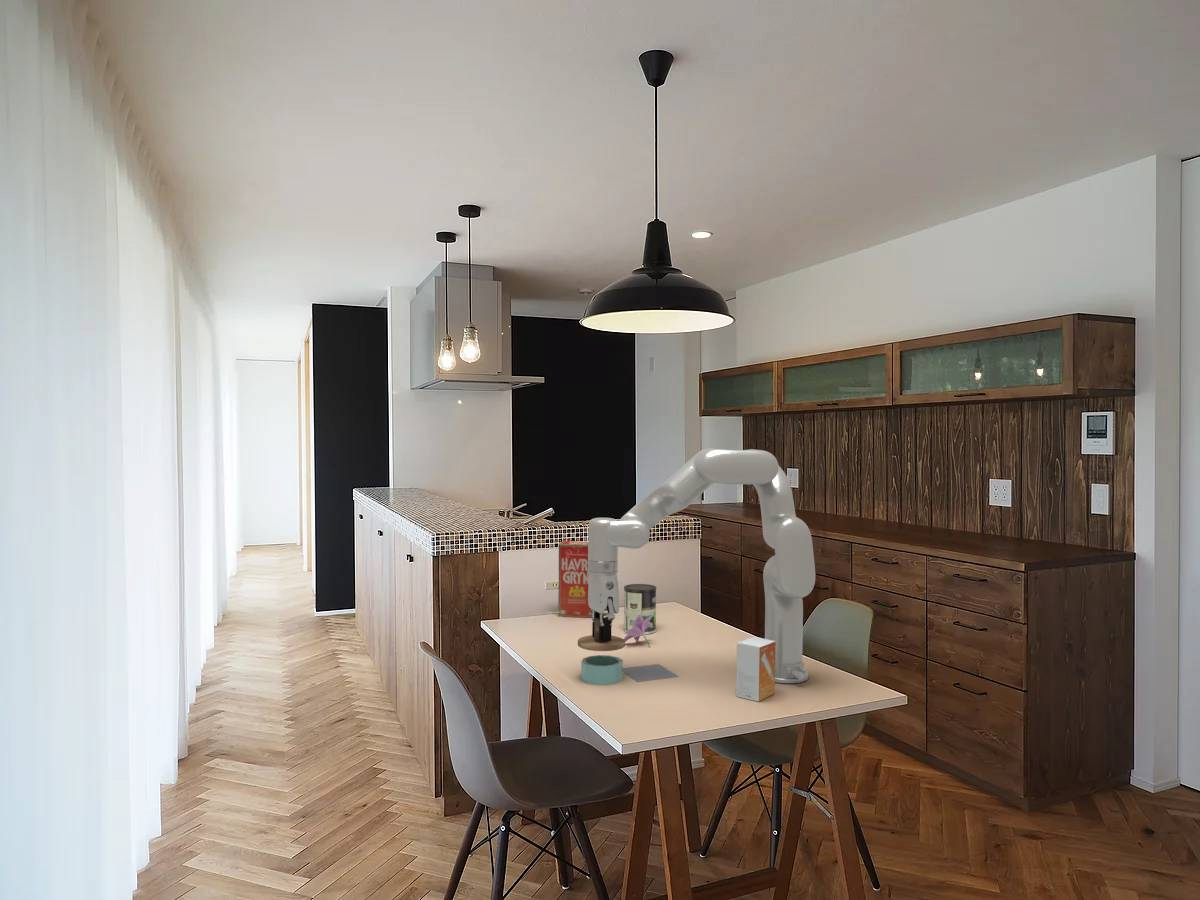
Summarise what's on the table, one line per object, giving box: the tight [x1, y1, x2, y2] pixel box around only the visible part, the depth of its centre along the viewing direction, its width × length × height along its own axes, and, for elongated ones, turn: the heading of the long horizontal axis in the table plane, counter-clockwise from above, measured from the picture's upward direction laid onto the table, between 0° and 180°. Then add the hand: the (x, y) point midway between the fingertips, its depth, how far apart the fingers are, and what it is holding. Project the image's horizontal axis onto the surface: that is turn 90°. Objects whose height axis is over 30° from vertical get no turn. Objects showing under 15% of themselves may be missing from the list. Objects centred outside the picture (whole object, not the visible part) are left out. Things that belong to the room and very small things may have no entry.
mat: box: [623, 663, 680, 683], centre depth 208 cm, size 12×12×1 cm
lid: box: [577, 618, 626, 652], centre depth 202 cm, size 12×12×6 cm
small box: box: [735, 636, 776, 702], centre depth 192 cm, size 8×6×13 cm
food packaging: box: [557, 540, 592, 619], centre depth 276 cm, size 13×9×25 cm
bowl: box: [580, 654, 624, 686], centre depth 203 cm, size 10×10×5 cm
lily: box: [623, 615, 653, 648], centre depth 237 cm, size 12×12×10 cm
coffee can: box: [623, 583, 657, 635], centre depth 254 cm, size 10×10×14 cm
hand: (601, 638), depth 203 cm, fingers closed on lid, 3 cm apart
